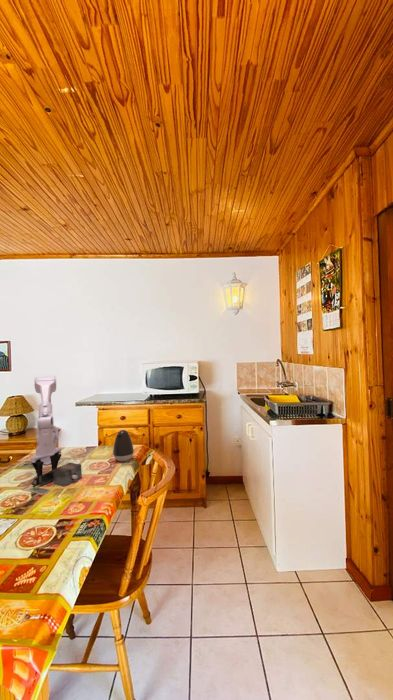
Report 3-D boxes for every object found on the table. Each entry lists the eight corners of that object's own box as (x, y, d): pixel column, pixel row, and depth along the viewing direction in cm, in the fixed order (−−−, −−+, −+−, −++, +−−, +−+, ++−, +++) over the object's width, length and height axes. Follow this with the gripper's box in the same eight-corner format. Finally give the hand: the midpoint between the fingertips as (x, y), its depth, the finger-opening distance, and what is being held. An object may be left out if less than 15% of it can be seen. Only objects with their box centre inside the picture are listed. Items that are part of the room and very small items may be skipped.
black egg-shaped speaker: (109, 462, 158) (108, 432, 158) (120, 456, 168) (119, 427, 168) (127, 464, 155) (126, 433, 155) (137, 457, 165) (136, 428, 165)
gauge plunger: (32, 488, 130) (31, 478, 130) (70, 471, 148) (69, 462, 148) (54, 493, 124) (53, 483, 124) (90, 474, 142) (90, 465, 142)
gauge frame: (21, 489, 130) (20, 475, 130) (57, 473, 146) (56, 460, 146) (47, 495, 123) (46, 480, 123) (81, 478, 140) (81, 464, 140)
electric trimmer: (68, 474, 146) (68, 467, 146) (36, 486, 133) (36, 479, 133) (63, 473, 148) (63, 466, 148) (31, 485, 135) (31, 477, 135)
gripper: (38, 448, 134) (39, 480, 134) (65, 439, 147) (66, 468, 147) (26, 447, 137) (27, 478, 137) (54, 438, 150) (55, 467, 150)
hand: (47, 473), depth 142 cm, fingers open, 7 cm apart
